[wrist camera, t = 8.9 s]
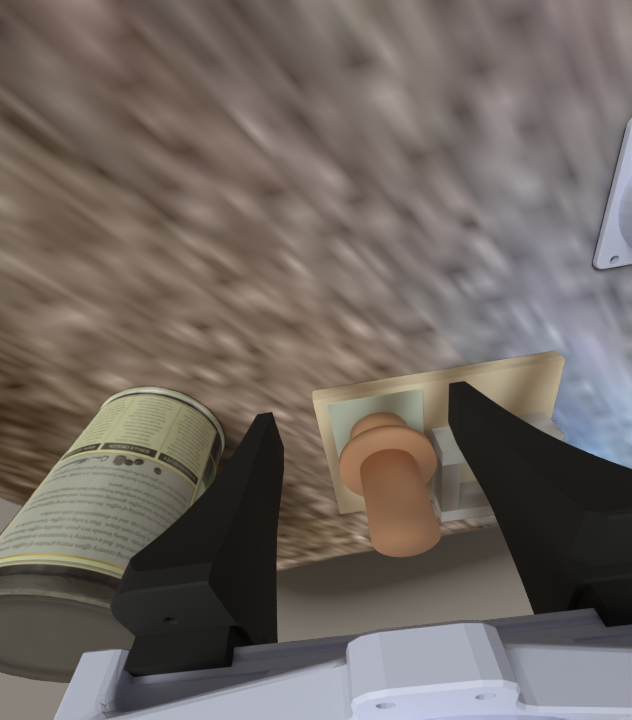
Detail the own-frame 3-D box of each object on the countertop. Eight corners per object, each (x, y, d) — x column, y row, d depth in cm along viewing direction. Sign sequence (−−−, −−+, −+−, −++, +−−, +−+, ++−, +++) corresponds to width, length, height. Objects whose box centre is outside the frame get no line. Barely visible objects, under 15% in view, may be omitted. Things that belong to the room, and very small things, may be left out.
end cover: (434, 405, 25) (485, 505, 18) (408, 467, 29) (442, 571, 22) (345, 396, 25) (361, 496, 17) (329, 460, 28) (337, 566, 21)
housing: (554, 350, 25) (591, 379, 22) (527, 476, 32) (551, 512, 29) (312, 390, 26) (313, 423, 23) (339, 502, 33) (342, 539, 30)
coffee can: (243, 464, 30) (202, 671, 18) (138, 485, 31) (33, 694, 19) (194, 371, 25) (90, 576, 13) (69, 400, 26) (-135, 615, 14)
